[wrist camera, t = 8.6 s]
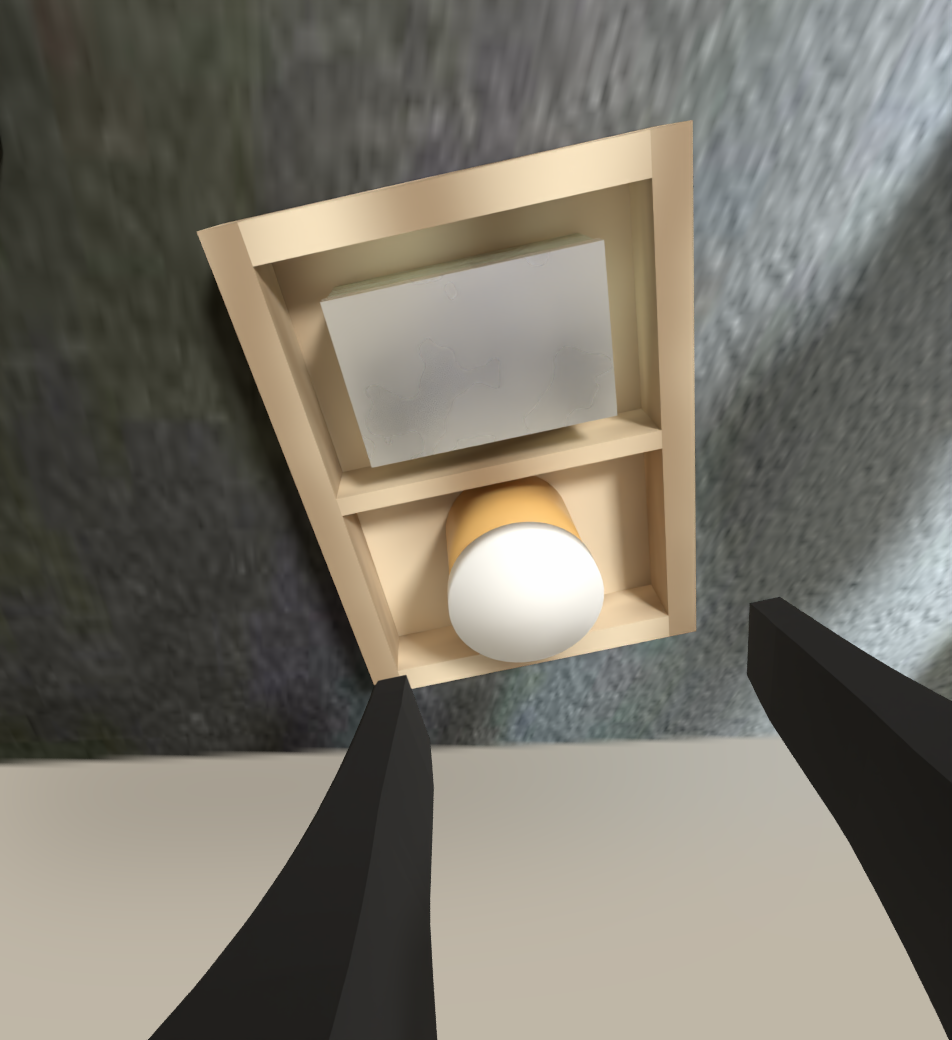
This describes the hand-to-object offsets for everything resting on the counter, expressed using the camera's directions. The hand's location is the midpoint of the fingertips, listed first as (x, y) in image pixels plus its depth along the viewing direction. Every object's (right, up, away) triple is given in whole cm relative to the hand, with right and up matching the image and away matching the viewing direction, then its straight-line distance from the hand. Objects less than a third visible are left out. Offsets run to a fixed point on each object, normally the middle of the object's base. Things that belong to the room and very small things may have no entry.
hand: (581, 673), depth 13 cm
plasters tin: (-2, +9, +6) cm, 11 cm away
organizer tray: (-2, +6, +8) cm, 10 cm away
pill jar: (-1, +3, +9) cm, 10 cm away
